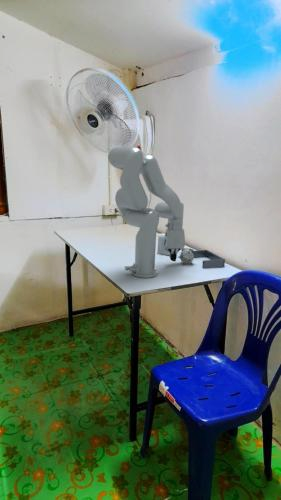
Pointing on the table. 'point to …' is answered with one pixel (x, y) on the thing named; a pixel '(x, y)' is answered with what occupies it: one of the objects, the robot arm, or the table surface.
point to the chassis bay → (214, 259)
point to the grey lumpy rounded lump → (186, 256)
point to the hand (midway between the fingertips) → (173, 260)
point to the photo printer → (162, 245)
